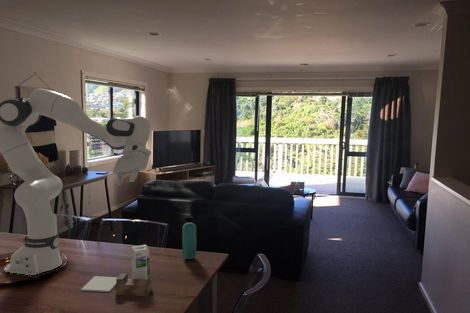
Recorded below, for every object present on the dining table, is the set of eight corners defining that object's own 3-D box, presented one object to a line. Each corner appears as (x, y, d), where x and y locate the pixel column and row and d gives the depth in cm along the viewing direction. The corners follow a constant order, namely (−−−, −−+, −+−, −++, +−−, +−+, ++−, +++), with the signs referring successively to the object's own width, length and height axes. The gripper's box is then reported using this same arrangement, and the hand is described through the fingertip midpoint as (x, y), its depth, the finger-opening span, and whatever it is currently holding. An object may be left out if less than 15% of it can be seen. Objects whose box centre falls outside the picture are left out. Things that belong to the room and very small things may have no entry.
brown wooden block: (115, 294, 134) (115, 279, 134) (121, 288, 139) (120, 273, 138) (147, 296, 133) (147, 280, 133) (152, 289, 138) (151, 274, 137)
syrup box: (135, 287, 140) (134, 251, 138) (132, 281, 145) (131, 246, 143) (150, 284, 142) (149, 248, 141) (146, 278, 148) (145, 243, 146)
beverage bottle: (194, 262, 163) (194, 219, 161) (180, 261, 165) (179, 218, 162) (198, 257, 170) (198, 215, 167) (184, 255, 171) (184, 214, 169)
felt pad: (81, 290, 137) (81, 289, 137) (94, 277, 148) (94, 276, 148) (109, 292, 136) (109, 290, 136) (121, 278, 147) (121, 277, 147)
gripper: (114, 153, 160) (105, 183, 154) (141, 144, 146) (132, 176, 141) (126, 159, 164) (118, 188, 158) (153, 151, 150) (145, 182, 145)
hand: (124, 182), depth 149 cm, fingers open, 8 cm apart
